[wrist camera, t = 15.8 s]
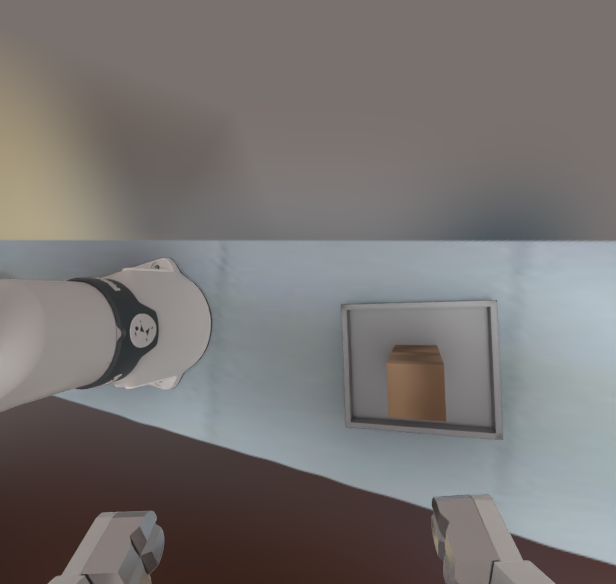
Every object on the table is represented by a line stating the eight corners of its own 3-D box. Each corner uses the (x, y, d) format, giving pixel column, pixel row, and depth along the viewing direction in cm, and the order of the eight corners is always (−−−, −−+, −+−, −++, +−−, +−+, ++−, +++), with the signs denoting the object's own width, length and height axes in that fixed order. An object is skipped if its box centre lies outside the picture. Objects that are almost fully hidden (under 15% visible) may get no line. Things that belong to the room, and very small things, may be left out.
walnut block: (396, 384, 39) (388, 417, 29) (395, 344, 39) (386, 363, 29) (438, 386, 38) (446, 421, 27) (437, 345, 38) (444, 364, 27)
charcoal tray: (349, 419, 42) (345, 427, 39) (345, 304, 42) (341, 304, 40) (497, 431, 37) (503, 440, 34) (491, 300, 37) (496, 300, 35)
